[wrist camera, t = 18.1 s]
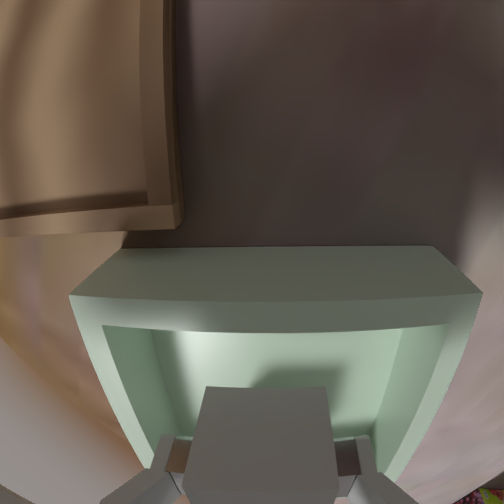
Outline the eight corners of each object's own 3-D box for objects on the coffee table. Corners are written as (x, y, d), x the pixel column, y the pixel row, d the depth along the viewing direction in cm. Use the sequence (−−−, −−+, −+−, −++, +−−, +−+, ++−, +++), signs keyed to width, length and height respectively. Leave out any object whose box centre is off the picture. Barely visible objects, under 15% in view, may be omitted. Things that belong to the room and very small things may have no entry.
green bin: (432, 245, 14) (483, 292, 9) (377, 439, 19) (388, 491, 15) (120, 248, 15) (68, 294, 10) (173, 438, 20) (157, 489, 16)
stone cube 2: (325, 386, 10) (339, 488, 6) (314, 449, 11) (320, 531, 7) (206, 386, 10) (181, 485, 6) (218, 448, 12) (205, 528, 8)
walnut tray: (178, -82, 8) (170, -97, 7) (185, 218, 14) (175, 229, 13) (-45, 29, 10) (-59, 27, 8) (-37, 233, 16) (-52, 241, 14)
